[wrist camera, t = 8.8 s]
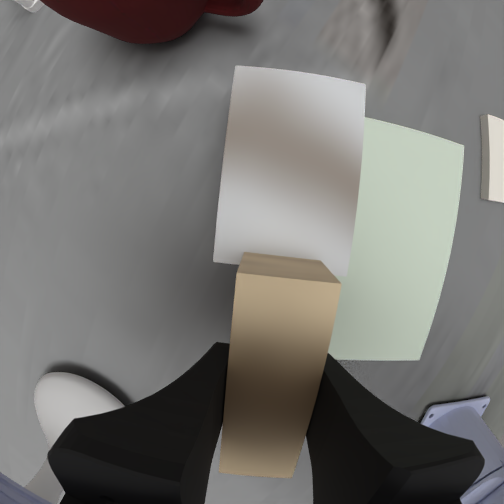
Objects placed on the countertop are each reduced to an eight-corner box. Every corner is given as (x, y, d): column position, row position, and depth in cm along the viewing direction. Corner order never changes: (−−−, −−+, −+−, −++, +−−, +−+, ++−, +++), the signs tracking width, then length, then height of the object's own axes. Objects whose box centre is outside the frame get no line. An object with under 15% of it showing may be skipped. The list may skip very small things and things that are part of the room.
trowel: (309, 421, 13) (319, 478, 9) (205, 411, 13) (190, 467, 9) (361, 89, 10) (396, 50, 7) (236, 71, 11) (225, 23, 7)
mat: (414, 354, 19) (419, 360, 19) (312, 351, 20) (314, 358, 19) (457, 146, 16) (464, 145, 15) (348, 117, 16) (352, 114, 15)
